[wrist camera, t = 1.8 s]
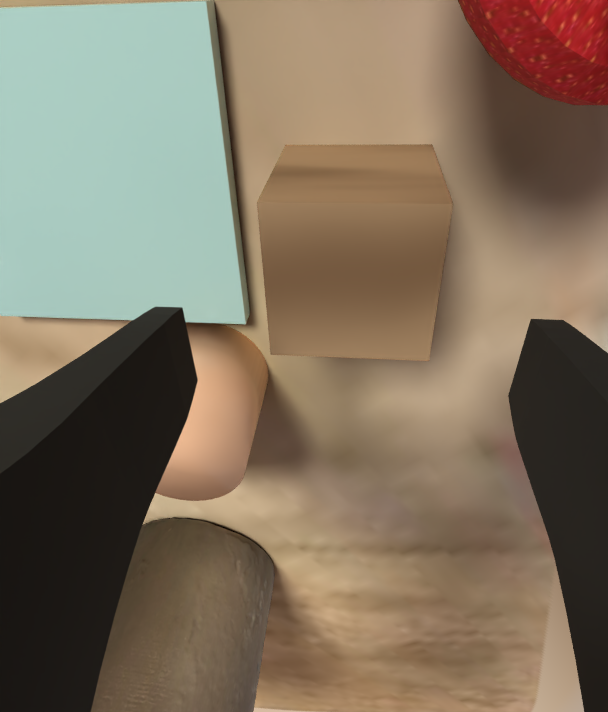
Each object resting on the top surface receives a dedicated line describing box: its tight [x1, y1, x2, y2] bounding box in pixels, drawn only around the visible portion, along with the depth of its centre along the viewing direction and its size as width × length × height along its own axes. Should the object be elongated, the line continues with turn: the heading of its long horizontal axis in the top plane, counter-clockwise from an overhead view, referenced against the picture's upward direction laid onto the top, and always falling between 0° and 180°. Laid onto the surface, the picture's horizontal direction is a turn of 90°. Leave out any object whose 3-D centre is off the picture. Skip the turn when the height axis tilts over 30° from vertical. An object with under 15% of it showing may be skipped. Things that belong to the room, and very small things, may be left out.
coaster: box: [0, 0, 250, 324], centre depth 17 cm, size 10×10×1 cm
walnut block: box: [257, 145, 453, 361], centre depth 15 cm, size 4×4×5 cm
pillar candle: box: [91, 518, 275, 712], centre depth 26 cm, size 10×10×15 cm
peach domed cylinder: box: [155, 322, 268, 501], centre depth 20 cm, size 5×5×5 cm
